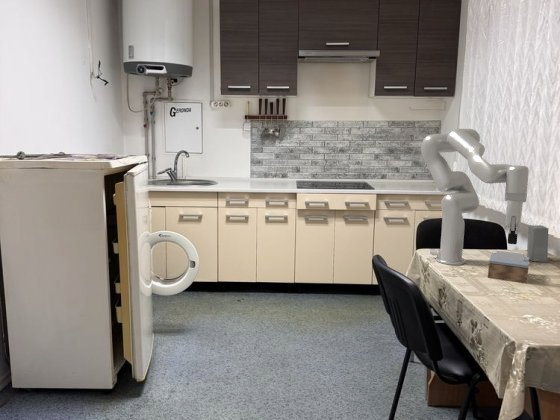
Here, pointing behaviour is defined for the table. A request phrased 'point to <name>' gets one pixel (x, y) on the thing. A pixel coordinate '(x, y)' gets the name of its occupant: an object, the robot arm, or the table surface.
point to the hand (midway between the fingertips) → (512, 243)
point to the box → (508, 273)
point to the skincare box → (537, 243)
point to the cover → (509, 259)
